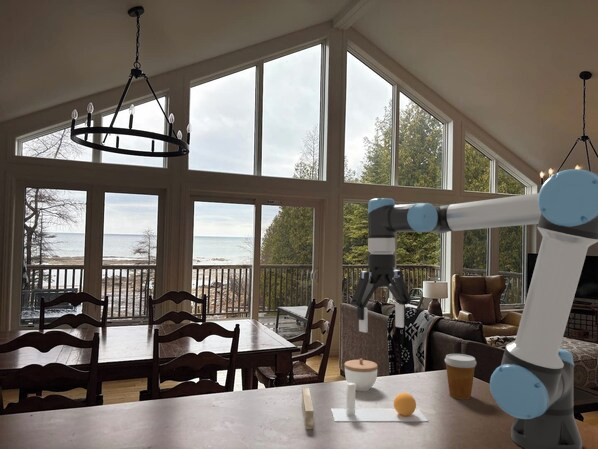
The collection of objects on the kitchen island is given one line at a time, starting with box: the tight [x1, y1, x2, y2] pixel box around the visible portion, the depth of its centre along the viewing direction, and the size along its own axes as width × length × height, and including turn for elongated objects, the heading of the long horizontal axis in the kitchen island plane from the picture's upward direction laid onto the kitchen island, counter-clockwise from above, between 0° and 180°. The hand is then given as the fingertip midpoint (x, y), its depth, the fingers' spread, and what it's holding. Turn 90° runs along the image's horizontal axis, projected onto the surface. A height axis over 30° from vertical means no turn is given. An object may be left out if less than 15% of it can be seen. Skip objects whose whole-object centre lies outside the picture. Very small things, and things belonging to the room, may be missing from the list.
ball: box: [393, 392, 417, 416], centre depth 129 cm, size 6×6×6 cm
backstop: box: [301, 387, 314, 430], centre depth 127 cm, size 2×18×4 cm, turn 3°
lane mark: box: [330, 407, 429, 423], centre depth 128 cm, size 25×9×1 cm, turn 92°
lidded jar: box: [344, 358, 379, 392], centre depth 152 cm, size 11×11×9 cm
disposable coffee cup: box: [444, 353, 478, 400], centre depth 145 cm, size 10×10×12 cm
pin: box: [345, 382, 356, 416], centre depth 128 cm, size 2×2×8 cm
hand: (382, 329), depth 130 cm, fingers open, 13 cm apart
